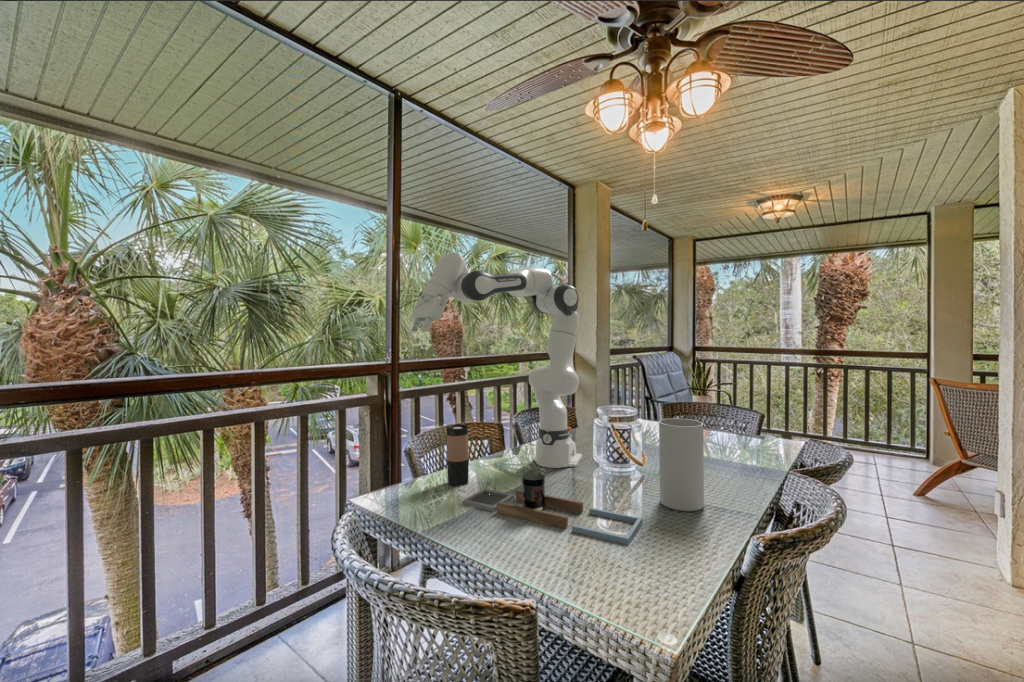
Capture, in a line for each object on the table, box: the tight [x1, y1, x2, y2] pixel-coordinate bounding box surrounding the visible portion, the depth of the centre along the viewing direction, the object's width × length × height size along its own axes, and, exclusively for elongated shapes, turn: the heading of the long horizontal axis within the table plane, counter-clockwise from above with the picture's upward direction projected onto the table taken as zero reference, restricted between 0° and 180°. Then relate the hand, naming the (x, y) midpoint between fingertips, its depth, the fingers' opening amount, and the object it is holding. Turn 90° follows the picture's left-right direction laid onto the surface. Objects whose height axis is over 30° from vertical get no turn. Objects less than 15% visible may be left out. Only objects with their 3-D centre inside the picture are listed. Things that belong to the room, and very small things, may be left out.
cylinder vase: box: [658, 417, 705, 513], centre depth 132 cm, size 12×12×25 cm
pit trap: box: [462, 488, 515, 512], centre depth 137 cm, size 12×12×1 cm
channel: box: [496, 489, 584, 530], centre depth 128 cm, size 12×22×3 cm, turn 59°
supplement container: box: [521, 472, 546, 511], centre depth 129 cm, size 7×7×10 cm
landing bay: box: [571, 507, 644, 546], centre depth 117 cm, size 14×15×2 cm
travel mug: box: [446, 424, 470, 487], centre depth 154 cm, size 8×8×20 cm
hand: (417, 331), depth 146 cm, fingers open, 8 cm apart
